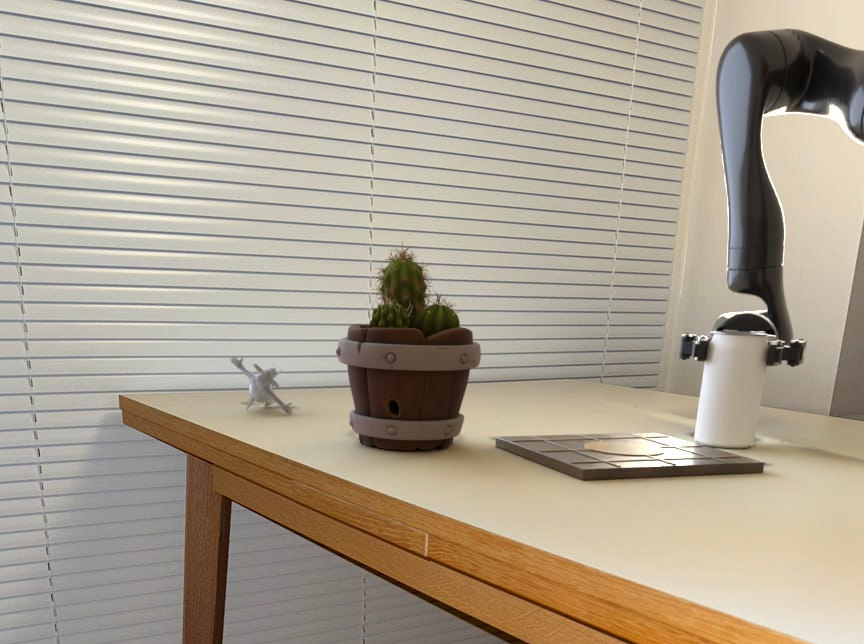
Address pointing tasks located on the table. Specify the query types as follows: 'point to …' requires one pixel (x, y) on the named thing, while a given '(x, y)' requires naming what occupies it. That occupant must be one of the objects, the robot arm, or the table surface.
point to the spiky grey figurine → (262, 385)
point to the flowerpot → (408, 364)
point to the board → (626, 455)
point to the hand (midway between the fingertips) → (736, 353)
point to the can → (731, 389)
